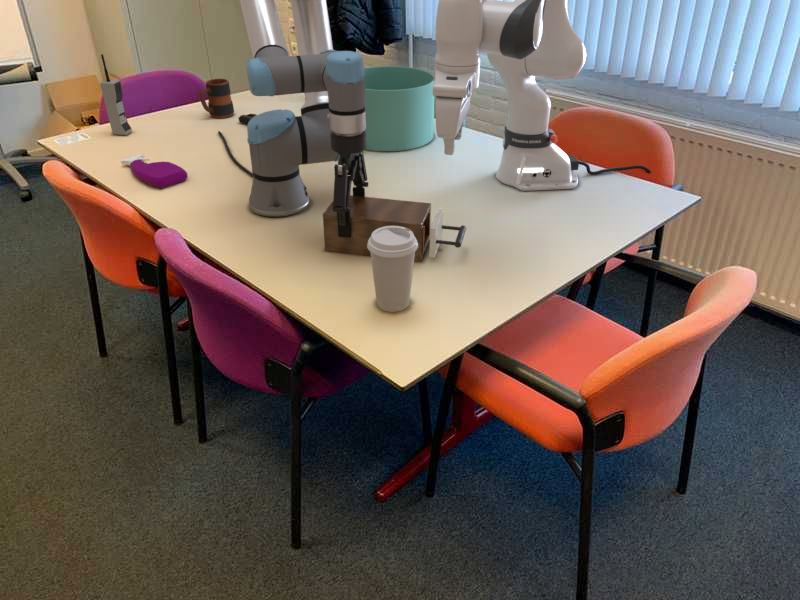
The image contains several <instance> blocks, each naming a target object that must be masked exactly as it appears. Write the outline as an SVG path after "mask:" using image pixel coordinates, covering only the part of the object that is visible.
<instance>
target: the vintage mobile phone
mask: <svg viewBox="0 0 800 600" xmlns="http://www.w3.org/2000/svg"><path fill="white" fill-rule="evenodd" d="M100 57H101V61H102V66H103V69H104V74H105V79H106V80H103V81H102V82H100V83H99V86H100V89H101V93H102V94H101V95H102V98H103V101H104V106H105V109H106V113H107V117H108V121H109V125H110V129H111V133H112V134H113V135H116V136H117V135H118V136H127V135H129V134H130V133H132V132H133V128H132V126H131V125H130V124H129V122H128V117H127V115H126V109H125V106H124V105H125V104H124V101H123V97H124V96H123V88H122V81H121V80H117V79H110V76H109V72H108V68H107V65H106V61H105V57H104V54H100Z"/></svg>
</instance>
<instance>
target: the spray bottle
mask: <svg viewBox="0 0 800 600" xmlns="http://www.w3.org/2000/svg"><path fill="white" fill-rule="evenodd" d="M145 161H149V163H147V162H145ZM120 163H121V166H129V167H130V169H131V172H132V173H133V175H134V176H135V177H136V178H137V179H139V180H141V181H142V182H143V183H145V184H148V185H150V186H153V187H156V188H160V189H163V188H166V187H169V186H173V185H176V184H178V183H182V182H184V181H186V180H187V178H188V172H187V171H186V170H185V169H184V168H183V167H181V166H180V165H177V164H175V163H174V162H170V161H154V162H150V158H146V157H145V154H144V153H142V154H136V155H133V156H129V157H127V158H124V159H121V160H120Z"/></svg>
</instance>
